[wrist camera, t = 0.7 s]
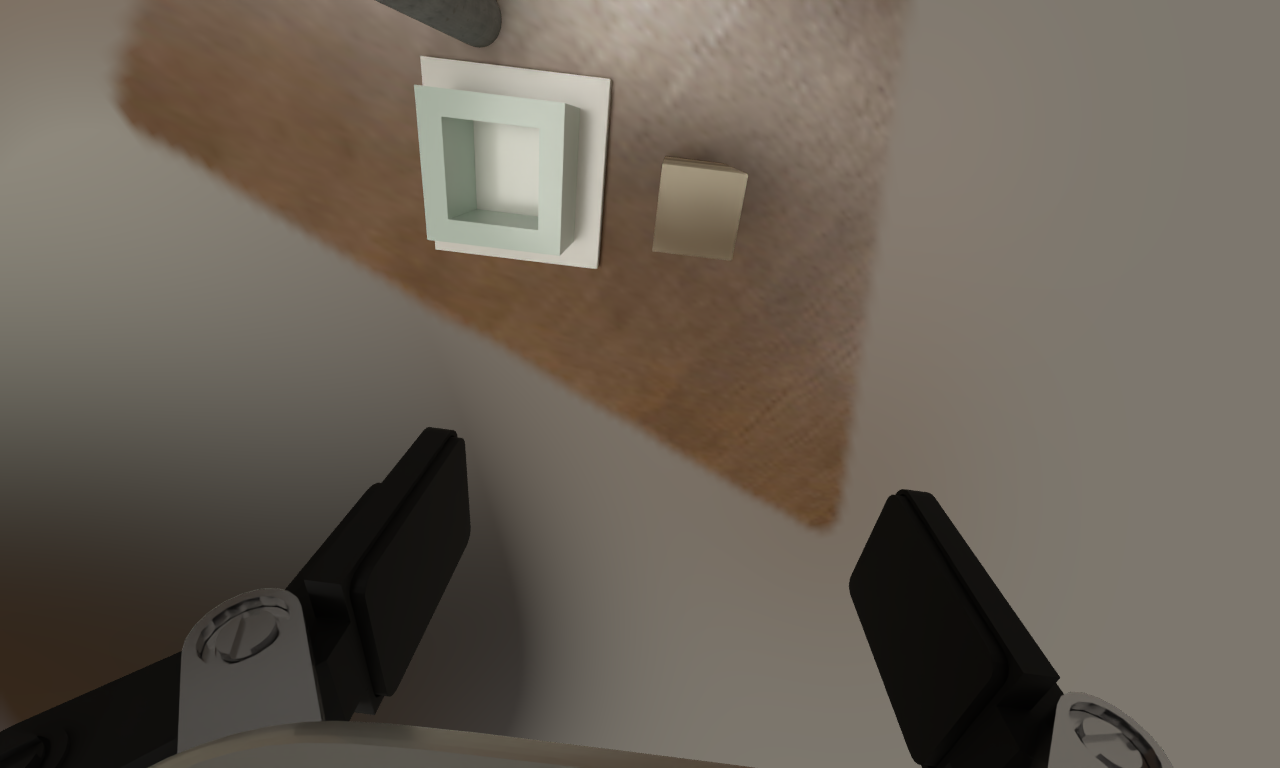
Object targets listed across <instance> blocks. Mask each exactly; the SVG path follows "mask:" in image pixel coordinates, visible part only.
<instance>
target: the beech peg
mask: <svg viewBox="0 0 1280 768" xmlns="http://www.w3.org/2000/svg"><path fill="white" fill-rule="evenodd" d="M747 179H748V174H746V173H744V172H742V171H740V170H737V169H735V168H733V167H731V166H728V165H726V164H724V163H717V162H709V161H700V160H692V159H684V158H676V157H668V156H665V158H664V161H663V164H662V172H661V181H660V189H659V198H658V206H657V215H656V223H655V231H654V240H653V248H652V251H655V252H663V253H671V254H679V255H688V256H696V257H704V258H712V259H720V260H728V261H732V257H733V252H734V246H735V241H736V236H737V231H738V226H739V221H740V215H741V210H742V205H743V200H744V195H745V189H746V184H747Z"/></svg>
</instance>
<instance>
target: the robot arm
mask: <svg viewBox="0 0 1280 768" xmlns="http://www.w3.org/2000/svg"><path fill="white" fill-rule="evenodd" d="M469 536H470V513H469V498H468V483H467V467H466V453H465V441H464V439H462V438H458V437H457V433H456V431H454V430H447V429H440V428H432V427H428V428H426V429H425V430H424V431H423V432H422V433H421V435H420V436H419V437H418V438H417V440H416V441H415V442H414V443H413V444H412V446H411V447H410V448H409V449H408V451H407V452H406V453H405V455H404V456H403V457H402V458H401V460H400V461H399V462H398V463H397V465H396V466H395V467H394V468H393V469H392V471H391V472H390V473H389V474H388V476H387V477H386V478H385V480H384V481H383V482H382V483H376V484H374V485H372V486H371V487H370V488H369V489H368V490H367V491H366V492H365V493H364V495H363V496H362V497H361V498H360V499H359V501H358V502H357V503H356V504H355V506H354V507H353V508H352V509H351V510H350V512H349V513H348V514H347V515H346V516H345V518H344V519H343V520H342V521H341V522H340V524H339V525H338V526H337V527H336V529H335V530H334V531H333V532H332V533H331V535H330V536H329V537H328V538H327V539H326V541H325V542H324V543H323V544H322V546H321V547H320V548H319V549H318V550H317V552H316V553H315V554H314V555H313V556H312V558H311V559H310V560H309V561H308V563H307V564H306V565H305V566H304V567H303V568H302V570H301V571H300V572H299V573H298V575H297V576H296V577H295V578H294V580H293V581H292V582H291V583H290V584H289V585H288V587H287V588H286V589H285V590H282V589H277V588H269V589H258V590H255V591H251V592H247V593H243V594H240V595H238V596H236V597H234V598H232V599H229V600H227V601H225V602H223V603H222V604H220V605H219V606H217V607H216V608H214V609H213V610H211V611H210V612H208V613H207V614H206V615H205V616H204V617H203V618H202V619H201V620H200V621H199V622H198V623H197V624H196V625H195V626H194V627H193V629H192V630H191V632H190V633H189V635H188V636H187V638H186V639H185V642H184V646H183V650H182V651H181V652H179V653H176V654H174V655H172V656H170V657H167V658H165V659H163V660H160V661H158V662H156V663H154V664H152V665H149V666H147V667H145V668H142V669H140V670H138V671H135V672H133V673H131V674H129V675H126V676H124V677H122V678H120V679H117V680H115V681H113V682H110V683H108V684H106V685H104V686H101V687H99V688H97V689H95V690H92V691H90V692H88V693H85V694H83V695H81V696H79V697H76V698H74V699H72V700H69V701H67V702H65V703H63V704H61V705H58V706H56V707H54V708H51V709H49V710H47V711H45V712H42V713H40V714H38V715H35V716H33V717H31V718H29V719H26V720H24V721H22V722H20V723H17V724H15V725H13V726H11V727H9V728H7V729H5V730H3V731H1V732H0V768H753V767H745V766H738V765H730V764H722V763H714V762H707V761H699V760H691V759H684V758H676V757H668V756H660V755H652V754H644V753H636V752H629V751H621V750H613V749H605V748H596V747H588V746H580V745H572V744H564V743H556V742H548V741H538V740H531V739H522V738H515V737H506V736H499V735H491V734H482V733H474V732H463V731H455V730H444V729H435V728H426V727H416V726H406V725H397V724H387V723H370V722H350V719H351V717H352V715H353V713H354V712H356V713H364V714H372V715H375V713H376V711H377V709H378V707H379V705H380V703H381V701H382V699H383V697H384V696H392V695H393V694H394V693H395V691H396V690H397V688H398V686H399V684H400V682H401V679H402V678H403V676H404V674H405V672H406V669H407V667H408V665H409V663H410V661H411V659H412V657H413V655H414V653H415V651H416V648H417V647H418V645H419V643H420V641H421V639H422V636H423V634H424V632H425V630H426V628H427V626H428V624H429V622H430V620H431V618H432V616H433V614H434V612H435V609H436V607H437V605H438V603H439V601H440V599H441V597H442V595H443V593H444V591H445V589H446V587H447V585H448V583H449V581H450V579H451V577H452V574H453V572H454V570H455V568H456V566H457V564H458V562H459V560H460V558H461V556H462V554H463V552H464V550H465V548H466V546H467V543H468V540H469ZM849 590H850V595H851V597H852V600H853V603H854V605H855V608H856V611H857V614H858V616H859V619H860V622H861V624H862V626H863V630H864V632H865V635H866V638H867V640H868V643H869V646H870V648H871V651H872V654H873V656H874V659H875V662H876V664H877V667H878V669H879V672H880V675H881V678H882V680H883V682H884V685H885V688H886V691H887V694H888V696H889V699H890V702H891V704H892V707H893V709H894V712H895V715H896V717H897V720H898V723H899V725H900V728H901V731H902V734H903V736H904V739H905V742H906V744H907V747H908V750H909V752H910V754H911V756H912V758H913V760H914V761H915V762H916V763H917V764H919V765H921V766H922V768H1173V766H1172V764H1171V762H1170V761H1169V759H1168V757H1167V756H1166V754H1165V753H1164V750H1163V749H1162V748H1161V747H1160V746H1159V745H1158V744H1157V742H1156V741H1155V740H1154V739H1153V737H1152V736H1151V735H1150V734H1149V733H1148V732H1147V731H1146V730H1144V729H1143V728H1142V727H1141V726H1140V725H1139V724H1138V723H1137V722H1136V721H1135V720H1134V719H1132V718H1131V717H1130V716H1128V715H1127V714H1125V713H1124V712H1122V711H1121V710H1120V709H1118V708H1117V707H1115V706H1113V705H1112V704H1110V703H1108V702H1106V701H1104V700H1102V699H1100V698H1098V697H1095V696H1092V695H1088V694H1085V693H1079V692H1069V693H1067V694H1063V692H1062V691H1061V690H1060V688H1059V686H1058V685H1057V684H1056V682H1057V681H1058V680H1059V679H1060V677H1059V675H1058V674H1057V672H1056V671H1055V670H1054V668H1053V667H1052V665H1051V664H1050V662H1049V661H1048V659H1047V658H1046V657H1045V655H1044V654H1043V652H1042V651H1041V649H1040V648H1039V646H1038V645H1037V644H1036V642H1035V641H1034V639H1033V638H1032V636H1031V635H1030V634H1029V632H1028V631H1027V629H1026V628H1025V626H1024V625H1023V623H1022V622H1021V621H1020V619H1019V618H1018V616H1017V615H1016V613H1015V612H1014V611H1013V609H1012V608H1011V606H1010V605H1009V603H1008V602H1007V601H1006V599H1005V598H1004V596H1003V595H1002V593H1001V592H1000V591H999V589H998V588H997V586H996V585H995V583H994V582H993V580H992V579H991V578H990V576H989V575H988V573H987V572H986V570H985V569H984V567H983V566H982V565H981V563H980V562H979V560H978V559H977V557H976V556H975V555H974V553H973V552H972V550H971V549H970V547H969V546H968V545H967V543H966V542H965V540H964V539H963V537H962V536H961V535H960V533H959V532H958V530H957V529H956V527H955V526H954V525H953V523H952V522H951V520H950V519H949V517H948V516H947V514H946V513H945V512H944V510H943V509H942V507H941V506H940V504H939V503H938V501H937V500H936V499H935V497H934V496H933V495H932V494H930V493H927V492H920V491H913V490H904V489H902V490H899V491H898V492H897V493H896V495H891V496H889V498H888V499H887V501H886V503H885V505H884V508H883V509H882V512H881V514H880V516H879V518H878V520H877V522H876V524H875V526H874V528H873V531H872V533H871V535H870V537H869V539H868V541H867V543H866V545H865V548H864V550H863V552H862V554H861V556H860V558H859V560H858V562H857V564H856V567H855V569H854V571H853V573H852V575H851V577H850V582H849Z"/></svg>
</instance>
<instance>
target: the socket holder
mask: <svg viewBox="0 0 1280 768" xmlns="http://www.w3.org/2000/svg"><path fill="white" fill-rule="evenodd" d="M420 58H421V71H422V83H423V86H421V85H414V89H415V101H416V112H417V124H418V136H419V147H420V159H421V170H422V182H423V194H424V205H425V217H426V228H427V240H434V241H435V247H436V249H438V250H446V251H454V252H462V253H470V254H478V255H486V256H495V257H503V258H511V259H519V260H527V261H535V262H544V263H552V264H560V265H568V266H576V267H584V268H593V269H597V268H598V267H599V257H600V243H601V228H602V214H603V200H604V186H605V172H606V157H607V143H608V129H609V115H610V101H611V86H612V80H611V79H606V78H598V77H590V76H582V75H573V74H565V73H557V72H549V71H540V70H532V69H524V68H516V67H507V66H499V65H491V64H483V63H475V62H466V61H458V60H450V59H442V58H433V57H425V56H420Z"/></svg>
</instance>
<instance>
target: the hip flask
mask: <svg viewBox="0 0 1280 768" xmlns="http://www.w3.org/2000/svg"><path fill="white" fill-rule="evenodd" d="M376 1H378V2H380V3H382V4H384V5H386V6H388V7H390V8H392V9H395V10H397V11H399V12H401V13H403V14H405V15H407V16H409V17H411V18H414V19H416V20H418V21H420V22H422V23H424V24H426V25H428V26H431V27H433V28H435V29H437V30H439V31H441V32H443V33H445V34H447V35H450V36H452V37H454V38H456V39H458V40H460V41H462V42H464V43H467V44H469V45H471V46H474V47H485V46H488V45H490V44H491V43H492V42H493V41H494V40H495V39H496V38H497V36H498V34H499V31H500V28H501V13H500V9H499V6H498V3H497V1H496V0H376Z"/></svg>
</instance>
